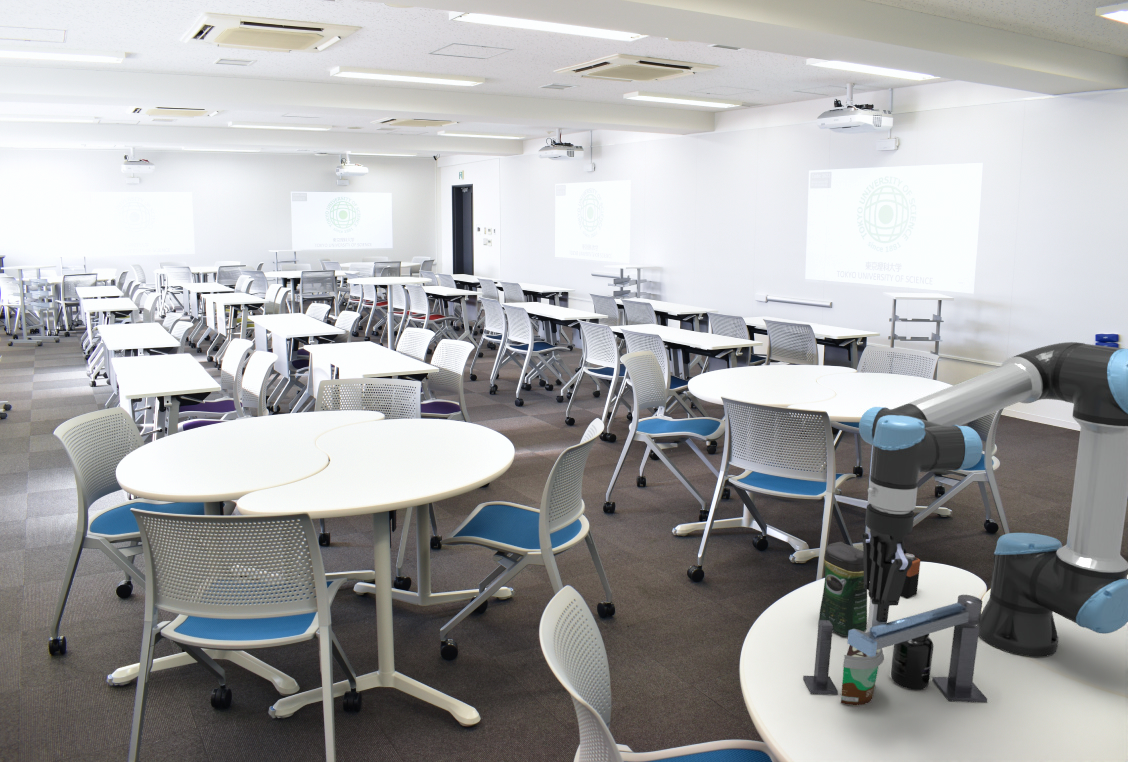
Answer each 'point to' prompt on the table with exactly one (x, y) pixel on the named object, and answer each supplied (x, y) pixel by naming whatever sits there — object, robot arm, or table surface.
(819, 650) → the rest post
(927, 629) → the cable arm
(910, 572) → the battery
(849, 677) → the food container
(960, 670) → the pivot post
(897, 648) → the supplement bottle
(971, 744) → the table surface
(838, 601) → the coffee jar
